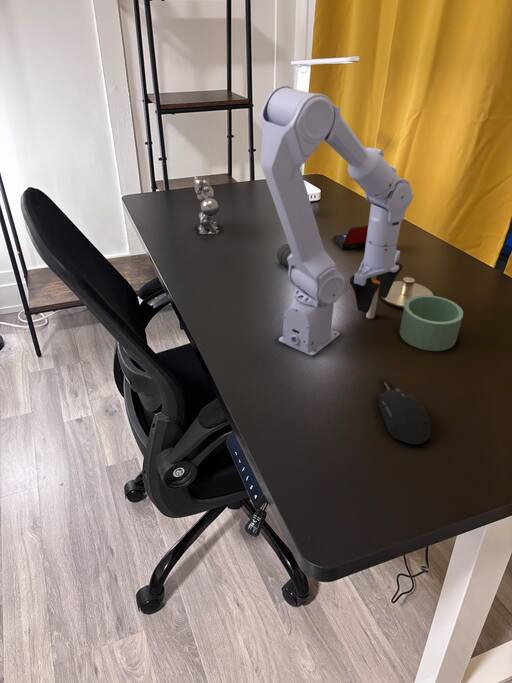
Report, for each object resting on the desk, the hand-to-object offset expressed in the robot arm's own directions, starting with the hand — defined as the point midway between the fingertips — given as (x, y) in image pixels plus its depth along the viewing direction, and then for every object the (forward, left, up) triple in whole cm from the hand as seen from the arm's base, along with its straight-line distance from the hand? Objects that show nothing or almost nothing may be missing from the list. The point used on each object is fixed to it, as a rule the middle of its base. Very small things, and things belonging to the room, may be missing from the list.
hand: (372, 303), depth 102 cm
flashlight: (+6, +22, -3) cm, 23 cm away
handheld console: (+31, +20, -3) cm, 37 cm away
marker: (0, 0, -3) cm, 3 cm away
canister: (+1, -12, -3) cm, 12 cm away
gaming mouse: (-23, -18, -3) cm, 29 cm away
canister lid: (+12, -2, -3) cm, 12 cm away
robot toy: (+11, +57, -3) cm, 58 cm away
